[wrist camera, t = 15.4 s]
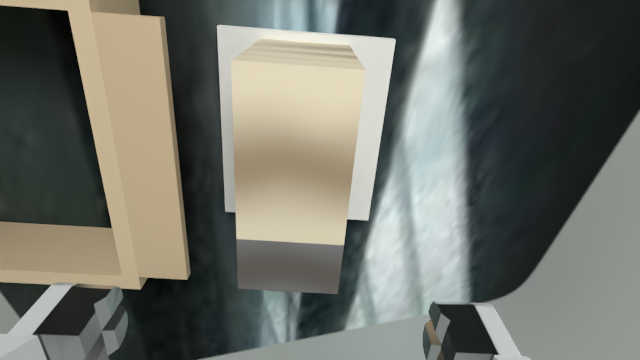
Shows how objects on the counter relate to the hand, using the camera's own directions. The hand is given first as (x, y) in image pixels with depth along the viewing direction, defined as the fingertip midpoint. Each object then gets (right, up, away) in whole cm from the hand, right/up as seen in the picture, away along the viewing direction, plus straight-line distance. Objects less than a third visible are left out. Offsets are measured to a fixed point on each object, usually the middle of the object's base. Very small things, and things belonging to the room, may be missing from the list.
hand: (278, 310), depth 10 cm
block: (0, +6, +13) cm, 15 cm away
